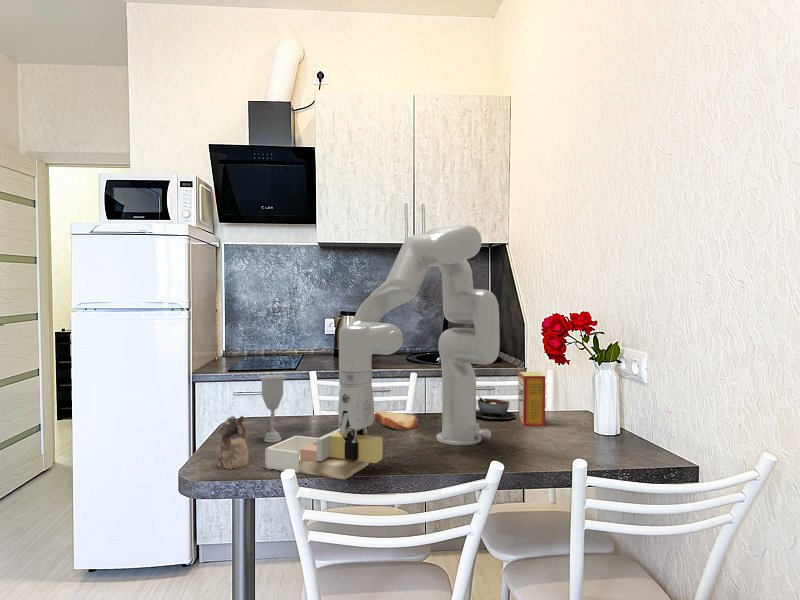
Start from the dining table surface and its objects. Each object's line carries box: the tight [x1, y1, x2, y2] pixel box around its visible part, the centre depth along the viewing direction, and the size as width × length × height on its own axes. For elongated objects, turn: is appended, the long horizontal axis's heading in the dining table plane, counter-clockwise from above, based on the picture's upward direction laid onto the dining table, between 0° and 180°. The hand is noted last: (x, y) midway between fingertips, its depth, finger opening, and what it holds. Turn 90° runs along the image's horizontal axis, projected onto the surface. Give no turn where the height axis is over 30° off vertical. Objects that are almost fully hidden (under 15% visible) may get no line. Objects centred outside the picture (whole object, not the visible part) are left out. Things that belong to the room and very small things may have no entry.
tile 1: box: [300, 444, 318, 462], centre depth 136 cm, size 4×4×2 cm
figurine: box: [217, 415, 250, 470], centre depth 140 cm, size 7×7×12 cm
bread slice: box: [374, 410, 420, 432], centre depth 184 cm, size 18×18×4 cm
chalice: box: [259, 374, 285, 443], centre depth 163 cm, size 7×7×18 cm
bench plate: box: [298, 457, 370, 480], centre depth 137 cm, size 12×12×3 cm
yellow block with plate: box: [317, 427, 384, 464], centre depth 135 cm, size 13×11×5 cm
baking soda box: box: [517, 371, 546, 427], centre depth 184 cm, size 10×6×16 cm
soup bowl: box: [476, 392, 517, 421], centre depth 194 cm, size 15×16×7 cm
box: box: [264, 435, 319, 474], centre depth 141 cm, size 9×13×5 cm
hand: (355, 456), depth 135 cm, fingers closed on yellow block with plate, 3 cm apart
